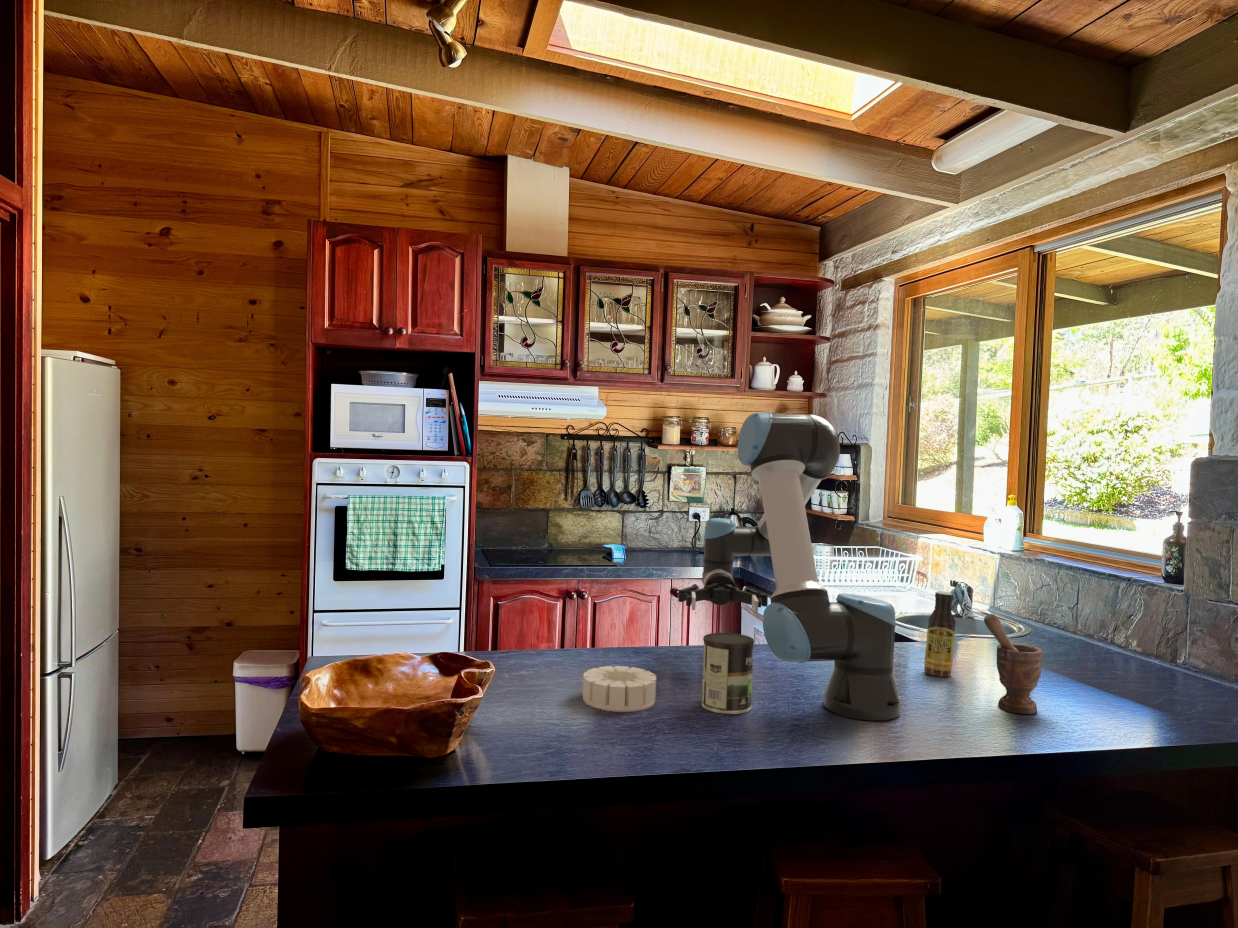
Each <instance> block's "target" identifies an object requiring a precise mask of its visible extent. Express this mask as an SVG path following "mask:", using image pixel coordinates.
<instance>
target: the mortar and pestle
mask: <svg viewBox="0 0 1238 928" xmlns="http://www.w3.org/2000/svg"><path fill="white" fill-rule="evenodd" d="M983 622H984V624H985V626H986V628H987V629H988V630H989V633H991V634H992V635H993V637H994V638H995V639H996V641H997V642H998V643H999V644H998V645H997V646H996V669H997V673H998V675H999V682H1000V684H1001V685H1002V686H1003V687H1004V688H1005V692H1006V693H1005V694H1004V695H1003V696H1001V697H999V700H998V702H997V705H998V708H1000V709H1001V710H1003V711H1005V712H1009V713H1013V714H1020V715H1033V714H1036V713H1038V707H1037V706H1038V705H1037V703H1036V702H1035V701H1034V700H1033V699H1032V698H1031V696H1030V694H1031V692H1033V690H1034V689H1036V687H1037V686H1038V681H1039V680H1040V678H1041V675H1042V674H1041V673H1042V662H1043V649H1042V648H1039V647H1036V646H1033V645H1030V644H1023V643H1012V642H1011V640H1010V639H1009V636H1007V632H1006V630H1005V628H1004V626H1003V624H1002V622H1001V621H1000V619H999V617H997V615H995V614H992V613H991V614H987V615H986V616H985V617H983Z"/></svg>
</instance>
